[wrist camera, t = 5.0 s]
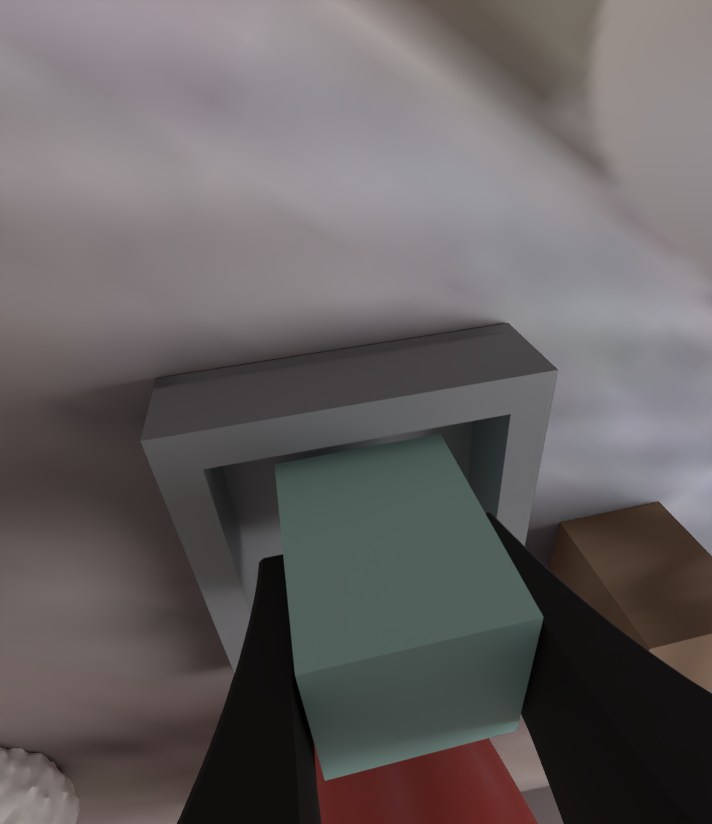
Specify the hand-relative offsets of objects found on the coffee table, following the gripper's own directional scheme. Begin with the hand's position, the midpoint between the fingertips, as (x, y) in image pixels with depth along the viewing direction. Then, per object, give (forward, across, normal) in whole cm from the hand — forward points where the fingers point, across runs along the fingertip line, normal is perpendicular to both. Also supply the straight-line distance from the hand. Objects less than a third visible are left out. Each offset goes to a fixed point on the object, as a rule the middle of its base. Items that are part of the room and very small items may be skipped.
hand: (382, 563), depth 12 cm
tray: (+4, 0, +3) cm, 5 cm away
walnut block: (+4, -10, +7) cm, 12 cm away
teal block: (+2, 0, 0) cm, 2 cm away
